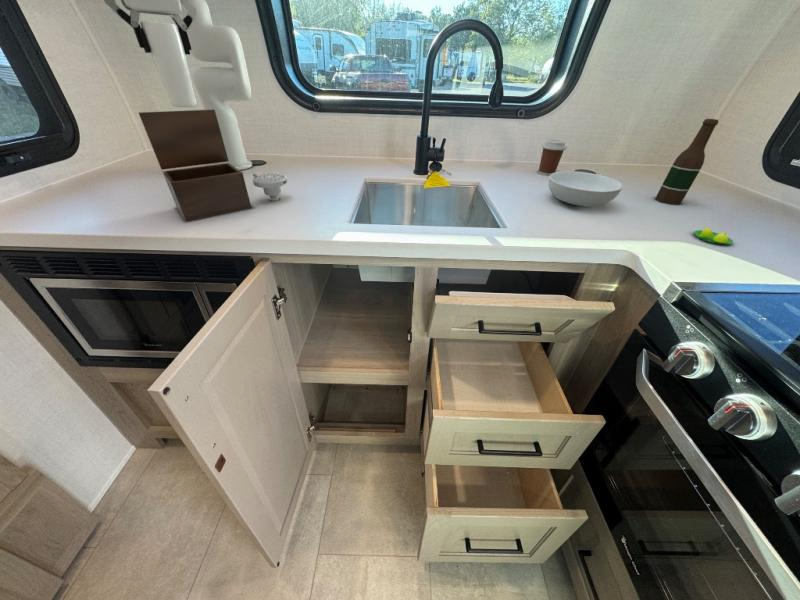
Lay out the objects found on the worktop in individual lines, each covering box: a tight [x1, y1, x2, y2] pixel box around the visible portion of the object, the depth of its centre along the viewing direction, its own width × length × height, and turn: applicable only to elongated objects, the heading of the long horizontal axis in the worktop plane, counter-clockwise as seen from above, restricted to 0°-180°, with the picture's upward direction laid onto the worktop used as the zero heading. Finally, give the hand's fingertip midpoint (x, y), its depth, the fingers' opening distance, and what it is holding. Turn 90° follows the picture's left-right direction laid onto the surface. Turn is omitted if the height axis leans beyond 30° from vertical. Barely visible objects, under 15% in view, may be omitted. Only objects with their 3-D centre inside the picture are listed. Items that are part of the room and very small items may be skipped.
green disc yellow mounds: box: [693, 226, 734, 245], centre depth 81 cm, size 8×8×3 cm
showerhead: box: [252, 172, 288, 202], centre depth 94 cm, size 9×7×10 cm
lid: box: [138, 109, 229, 171], centre depth 84 cm, size 13×17×5 cm
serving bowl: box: [548, 170, 623, 207], centre depth 100 cm, size 21×21×7 cm
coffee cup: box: [537, 138, 568, 176], centre depth 126 cm, size 9×9×12 cm
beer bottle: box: [655, 118, 719, 205], centre depth 99 cm, size 8×8×24 cm
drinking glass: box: [139, 20, 198, 108], centre depth 71 cm, size 7×7×15 cm
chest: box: [162, 163, 253, 222], centre depth 86 cm, size 12×17×10 cm
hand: (168, 52), depth 69 cm, fingers closed on drinking glass, 6 cm apart
